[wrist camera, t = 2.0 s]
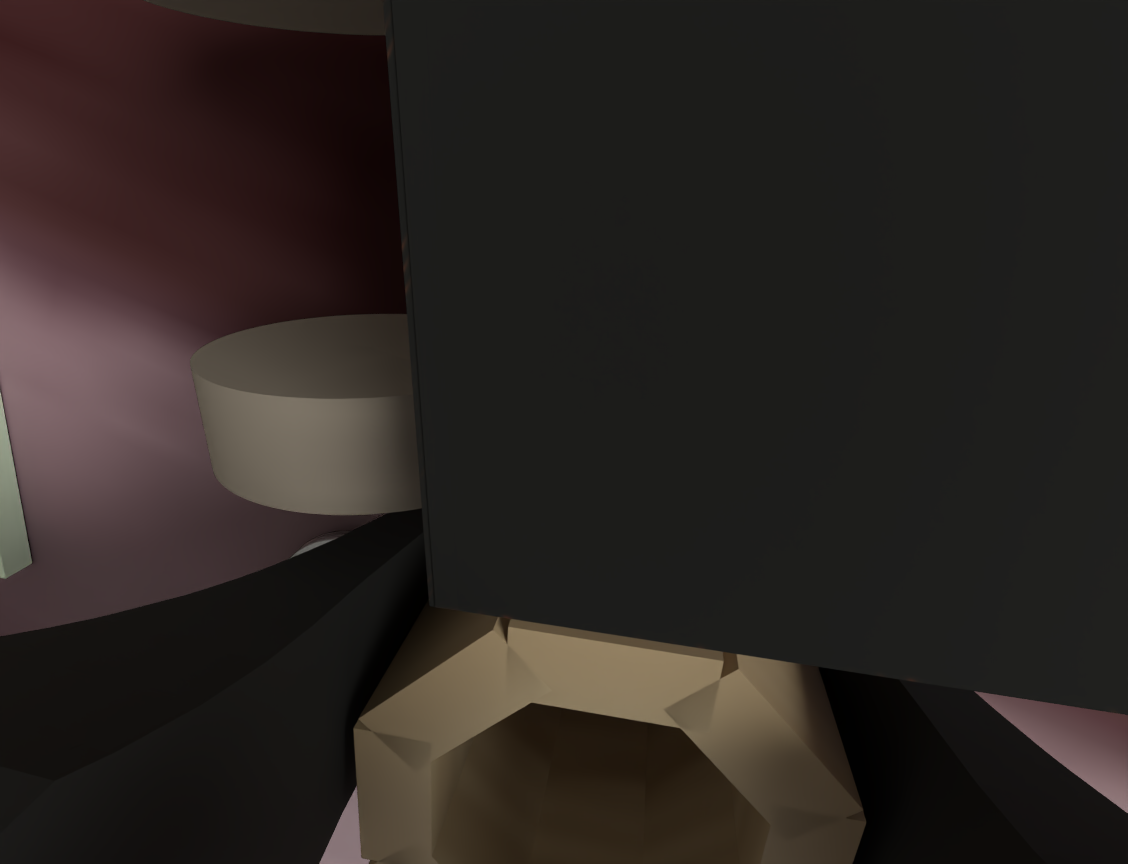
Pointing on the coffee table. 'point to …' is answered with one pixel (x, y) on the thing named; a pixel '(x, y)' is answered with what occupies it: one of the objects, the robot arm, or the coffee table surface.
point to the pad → (10, 511)
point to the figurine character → (736, 330)
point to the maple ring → (596, 752)
